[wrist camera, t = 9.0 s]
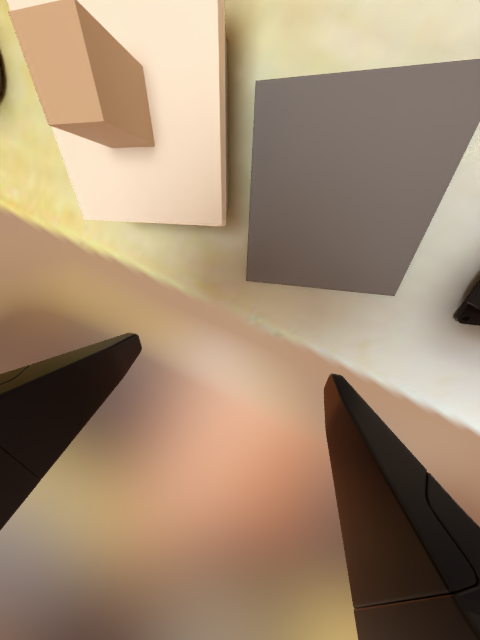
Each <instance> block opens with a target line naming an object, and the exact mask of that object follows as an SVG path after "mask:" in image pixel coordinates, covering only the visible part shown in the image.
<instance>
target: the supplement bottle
mask: <svg viewBox="0 0 480 640" xmlns="http://www.w3.org/2000/svg"><path fill="white" fill-rule="evenodd" d="M1 91H2V70H1V65H0V94H1Z"/></svg>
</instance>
